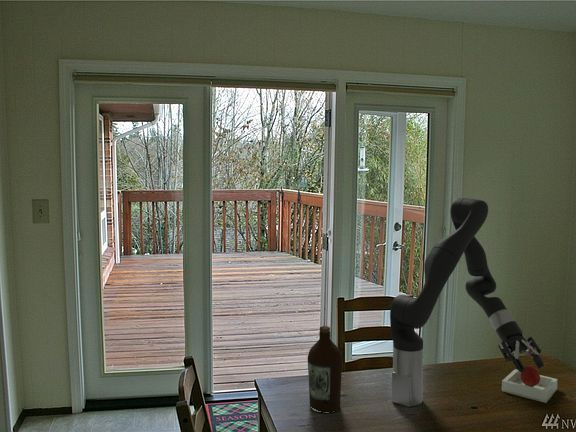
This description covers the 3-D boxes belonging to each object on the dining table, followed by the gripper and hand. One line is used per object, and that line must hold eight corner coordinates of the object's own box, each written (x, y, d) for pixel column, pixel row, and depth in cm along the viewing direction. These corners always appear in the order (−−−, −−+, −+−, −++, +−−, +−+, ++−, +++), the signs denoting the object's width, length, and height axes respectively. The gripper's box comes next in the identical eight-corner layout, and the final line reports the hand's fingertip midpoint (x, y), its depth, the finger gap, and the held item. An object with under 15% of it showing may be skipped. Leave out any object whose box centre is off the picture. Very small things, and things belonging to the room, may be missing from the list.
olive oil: (317, 396, 159) (316, 320, 157) (347, 403, 154) (347, 325, 152) (301, 409, 150) (301, 329, 148) (333, 418, 144) (333, 334, 143)
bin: (546, 403, 153) (546, 392, 153) (501, 391, 162) (501, 380, 162) (557, 389, 163) (557, 379, 163) (514, 378, 172) (514, 369, 172)
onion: (515, 385, 164) (517, 362, 164) (527, 383, 167) (529, 360, 166) (530, 392, 159) (532, 367, 159) (542, 390, 161) (544, 366, 161)
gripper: (496, 322, 166) (523, 367, 156) (526, 317, 171) (555, 360, 162) (483, 333, 171) (509, 377, 161) (513, 328, 176) (540, 370, 167)
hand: (532, 369), depth 161 cm, fingers open, 8 cm apart
